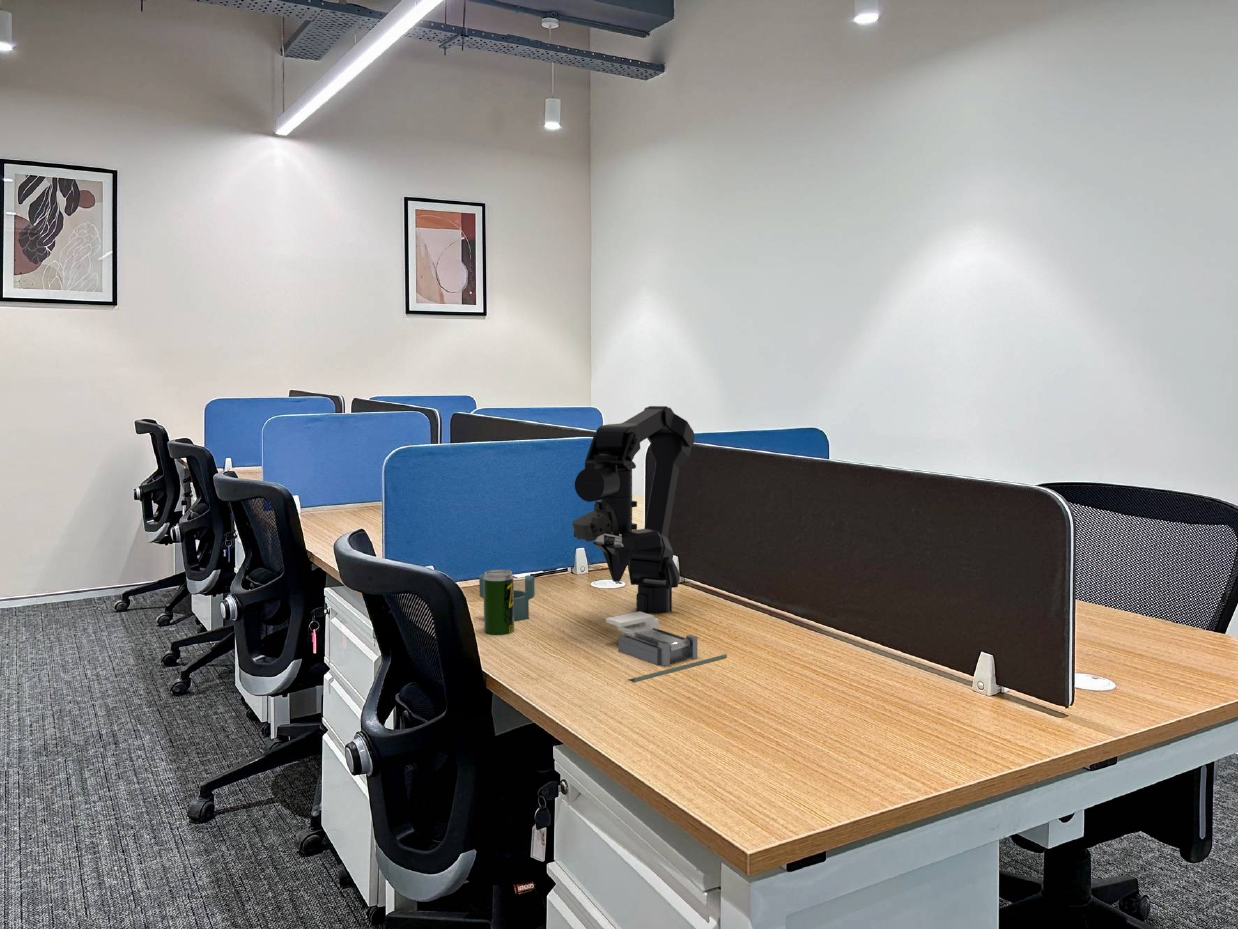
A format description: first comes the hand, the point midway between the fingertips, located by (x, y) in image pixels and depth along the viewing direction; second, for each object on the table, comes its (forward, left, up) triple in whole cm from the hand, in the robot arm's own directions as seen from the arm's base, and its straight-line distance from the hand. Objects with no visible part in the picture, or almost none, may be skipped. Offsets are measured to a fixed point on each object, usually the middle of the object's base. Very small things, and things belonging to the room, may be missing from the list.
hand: (616, 581), depth 168 cm
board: (+4, +9, -10) cm, 14 cm away
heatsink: (+4, +16, -9) cm, 19 cm away
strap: (+4, +14, -7) cm, 16 cm away
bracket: (+9, -23, -11) cm, 27 cm away
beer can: (+17, -13, -10) cm, 24 cm away
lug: (+3, +8, -9) cm, 12 cm away
